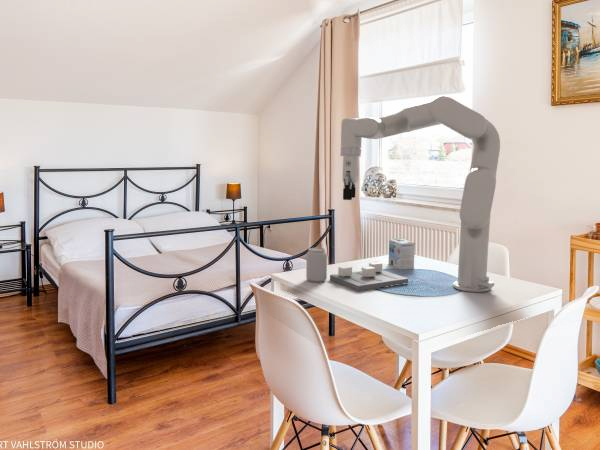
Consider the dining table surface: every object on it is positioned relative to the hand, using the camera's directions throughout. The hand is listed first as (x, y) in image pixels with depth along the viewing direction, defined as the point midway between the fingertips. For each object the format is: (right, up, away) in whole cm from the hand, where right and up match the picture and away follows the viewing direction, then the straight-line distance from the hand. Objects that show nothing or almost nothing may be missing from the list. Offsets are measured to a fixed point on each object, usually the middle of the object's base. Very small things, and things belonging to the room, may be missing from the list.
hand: (349, 198), depth 195 cm
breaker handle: (+7, -29, -4) cm, 30 cm away
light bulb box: (+24, -27, +23) cm, 43 cm away
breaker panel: (+7, -31, -4) cm, 32 cm away
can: (-12, -31, -2) cm, 33 cm away
